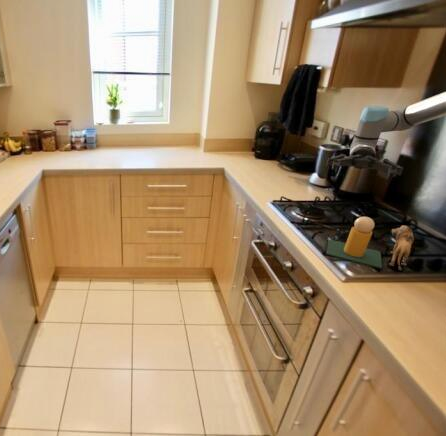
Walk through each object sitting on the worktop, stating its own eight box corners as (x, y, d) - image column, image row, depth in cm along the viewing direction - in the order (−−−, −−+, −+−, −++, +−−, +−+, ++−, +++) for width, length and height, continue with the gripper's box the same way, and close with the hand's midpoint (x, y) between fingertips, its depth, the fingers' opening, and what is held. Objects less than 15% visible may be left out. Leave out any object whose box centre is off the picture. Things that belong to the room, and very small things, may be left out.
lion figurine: (383, 245, 103) (394, 221, 99) (404, 249, 101) (415, 225, 97) (389, 269, 92) (401, 243, 88) (412, 275, 90) (426, 248, 86)
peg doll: (363, 250, 100) (377, 216, 94) (363, 258, 96) (378, 223, 90) (343, 246, 102) (356, 212, 97) (343, 253, 99) (356, 218, 93)
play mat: (379, 253, 100) (380, 251, 99) (381, 269, 92) (382, 267, 92) (328, 241, 107) (328, 239, 106) (326, 255, 99) (326, 253, 99)
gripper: (402, 171, 110) (409, 192, 94) (320, 161, 122) (314, 177, 107) (411, 150, 106) (420, 168, 91) (325, 141, 119) (320, 156, 103)
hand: (362, 173), depth 99 cm, fingers open, 13 cm apart
